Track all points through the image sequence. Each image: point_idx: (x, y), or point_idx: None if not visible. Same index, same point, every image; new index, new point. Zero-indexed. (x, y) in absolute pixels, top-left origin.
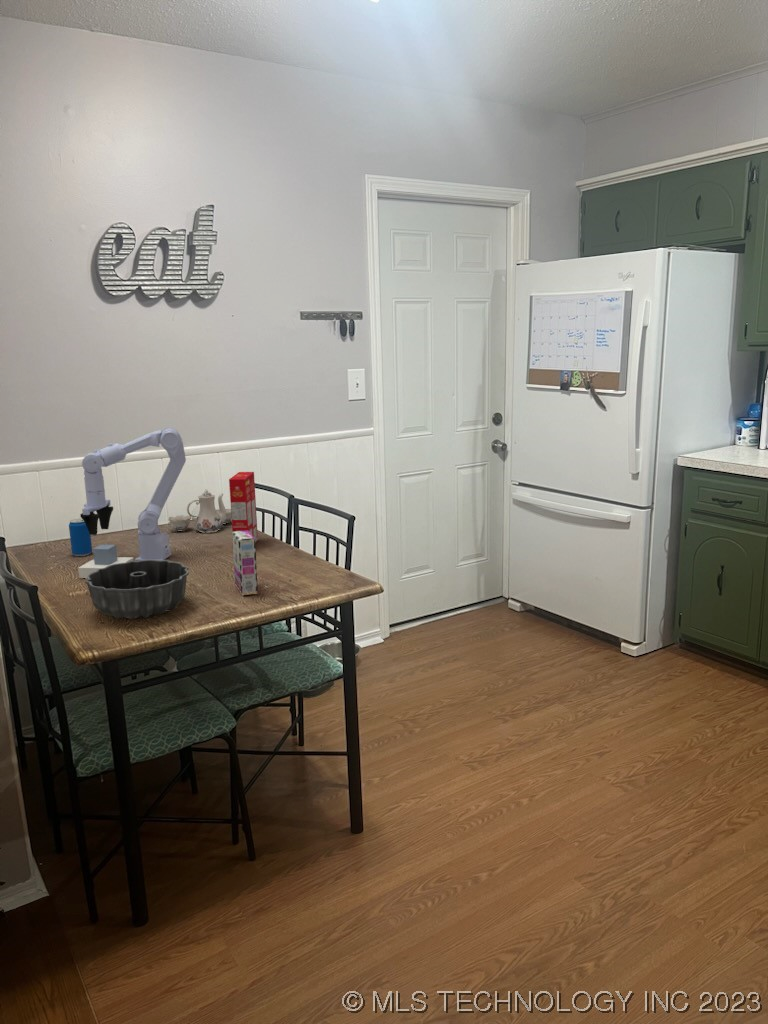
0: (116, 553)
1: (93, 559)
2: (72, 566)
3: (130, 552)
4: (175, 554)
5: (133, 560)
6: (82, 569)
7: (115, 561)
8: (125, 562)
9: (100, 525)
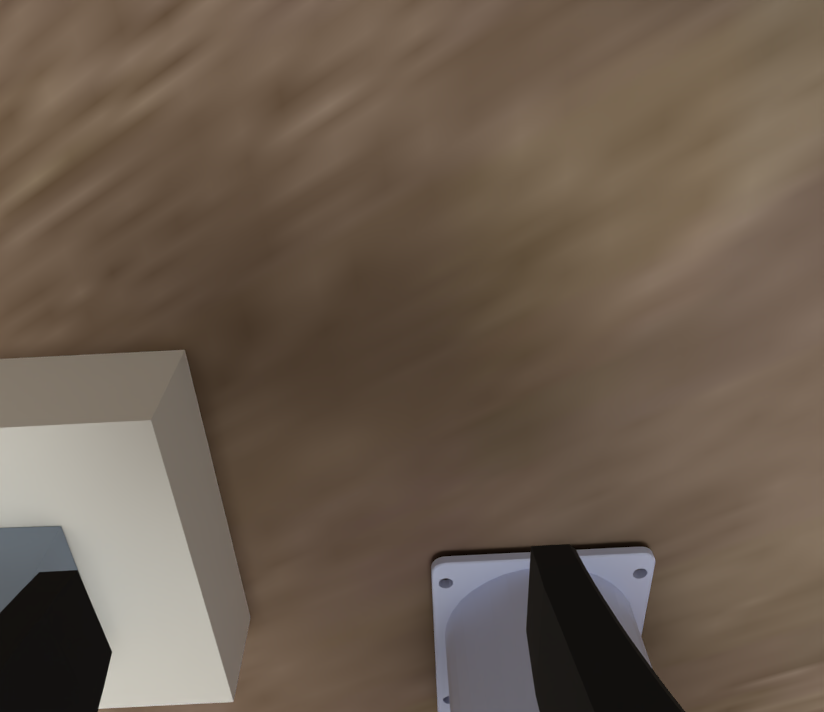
0: None
1: (33, 432)
2: (112, 8)
3: (758, 388)
4: None
5: (238, 675)
6: None
7: None
8: None
9: (550, 598)
